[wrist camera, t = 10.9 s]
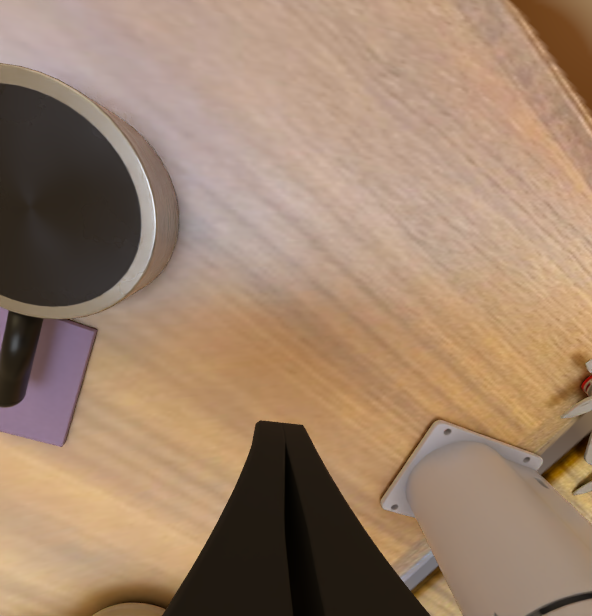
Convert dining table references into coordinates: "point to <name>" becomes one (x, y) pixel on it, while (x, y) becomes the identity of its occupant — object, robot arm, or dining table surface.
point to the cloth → (50, 382)
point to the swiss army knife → (588, 386)
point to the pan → (71, 213)
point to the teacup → (131, 610)
